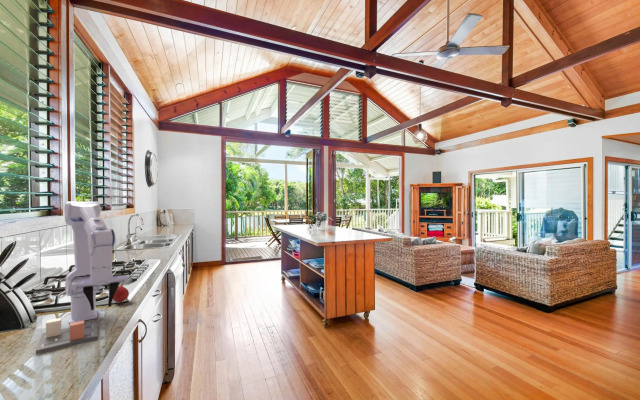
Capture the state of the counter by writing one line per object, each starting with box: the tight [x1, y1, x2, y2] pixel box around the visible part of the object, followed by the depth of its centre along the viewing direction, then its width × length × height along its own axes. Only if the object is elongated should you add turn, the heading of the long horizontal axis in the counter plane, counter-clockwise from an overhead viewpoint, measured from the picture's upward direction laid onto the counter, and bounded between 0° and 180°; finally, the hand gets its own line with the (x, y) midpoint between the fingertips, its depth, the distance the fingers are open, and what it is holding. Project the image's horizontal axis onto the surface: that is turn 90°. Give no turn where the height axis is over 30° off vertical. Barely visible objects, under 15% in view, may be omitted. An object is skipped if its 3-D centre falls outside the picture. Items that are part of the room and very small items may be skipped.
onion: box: [112, 284, 130, 303], centre depth 121 cm, size 6×6×8 cm
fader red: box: [69, 320, 85, 341], centre depth 89 cm, size 3×3×5 cm
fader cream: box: [45, 317, 62, 338], centre depth 91 cm, size 3×3×5 cm
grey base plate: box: [35, 321, 98, 355], centre depth 91 cm, size 13×14×1 cm
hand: (101, 307), depth 93 cm, fingers open, 4 cm apart
